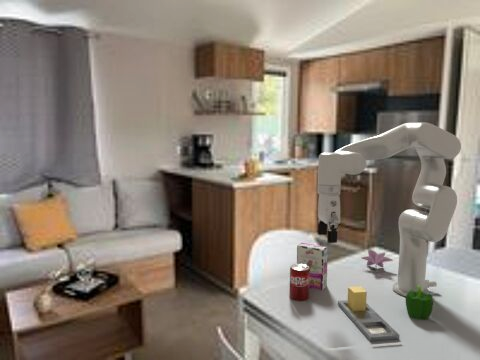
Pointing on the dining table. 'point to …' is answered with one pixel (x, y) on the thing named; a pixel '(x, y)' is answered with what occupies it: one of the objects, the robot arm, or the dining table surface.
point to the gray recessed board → (370, 323)
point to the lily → (376, 258)
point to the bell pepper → (419, 304)
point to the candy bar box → (314, 263)
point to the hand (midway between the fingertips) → (327, 238)
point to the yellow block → (356, 299)
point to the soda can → (299, 282)
